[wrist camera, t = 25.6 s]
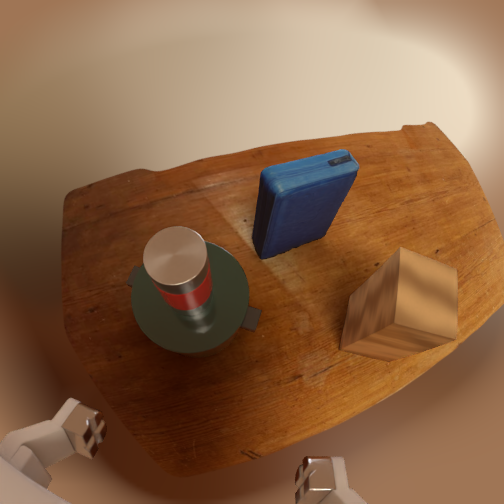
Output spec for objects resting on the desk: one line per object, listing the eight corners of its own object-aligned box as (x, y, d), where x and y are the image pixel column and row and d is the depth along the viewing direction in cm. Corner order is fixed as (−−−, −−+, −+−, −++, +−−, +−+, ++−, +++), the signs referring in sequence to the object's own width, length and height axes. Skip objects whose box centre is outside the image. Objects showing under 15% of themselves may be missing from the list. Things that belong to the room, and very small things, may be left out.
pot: (238, 379, 41) (240, 376, 32) (125, 334, 42) (102, 319, 34) (268, 287, 48) (276, 263, 40) (162, 252, 50) (150, 223, 41)
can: (203, 323, 35) (192, 295, 25) (157, 306, 36) (131, 272, 26) (220, 278, 38) (217, 236, 28) (176, 263, 39) (159, 218, 29)
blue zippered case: (315, 217, 55) (347, 141, 38) (329, 239, 53) (369, 167, 35) (248, 241, 52) (257, 161, 34) (260, 266, 50) (277, 192, 32)
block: (389, 361, 43) (456, 339, 27) (338, 349, 44) (394, 322, 28) (396, 309, 47) (457, 269, 31) (349, 295, 48) (400, 246, 32)
